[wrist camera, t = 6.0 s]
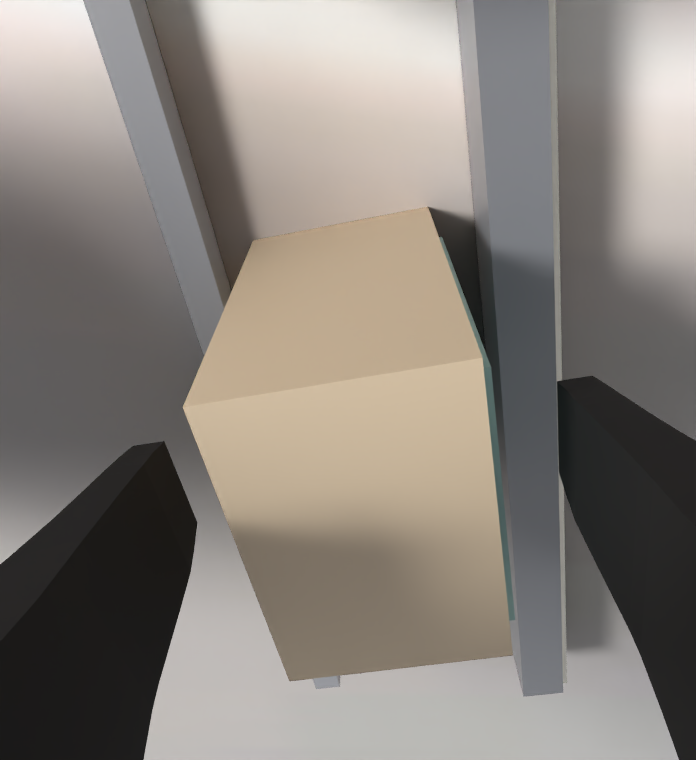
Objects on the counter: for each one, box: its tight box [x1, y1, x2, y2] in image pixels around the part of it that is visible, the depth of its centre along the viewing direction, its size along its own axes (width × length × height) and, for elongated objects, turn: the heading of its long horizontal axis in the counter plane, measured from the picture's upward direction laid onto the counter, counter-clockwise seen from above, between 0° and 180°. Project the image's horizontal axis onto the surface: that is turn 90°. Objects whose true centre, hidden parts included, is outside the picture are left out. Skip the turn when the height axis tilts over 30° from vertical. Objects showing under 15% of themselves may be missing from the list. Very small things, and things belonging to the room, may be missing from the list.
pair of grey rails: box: [83, 0, 567, 696], centre depth 14 cm, size 8×26×2 cm, turn 10°
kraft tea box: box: [183, 207, 515, 681], centre depth 13 cm, size 4×6×7 cm
